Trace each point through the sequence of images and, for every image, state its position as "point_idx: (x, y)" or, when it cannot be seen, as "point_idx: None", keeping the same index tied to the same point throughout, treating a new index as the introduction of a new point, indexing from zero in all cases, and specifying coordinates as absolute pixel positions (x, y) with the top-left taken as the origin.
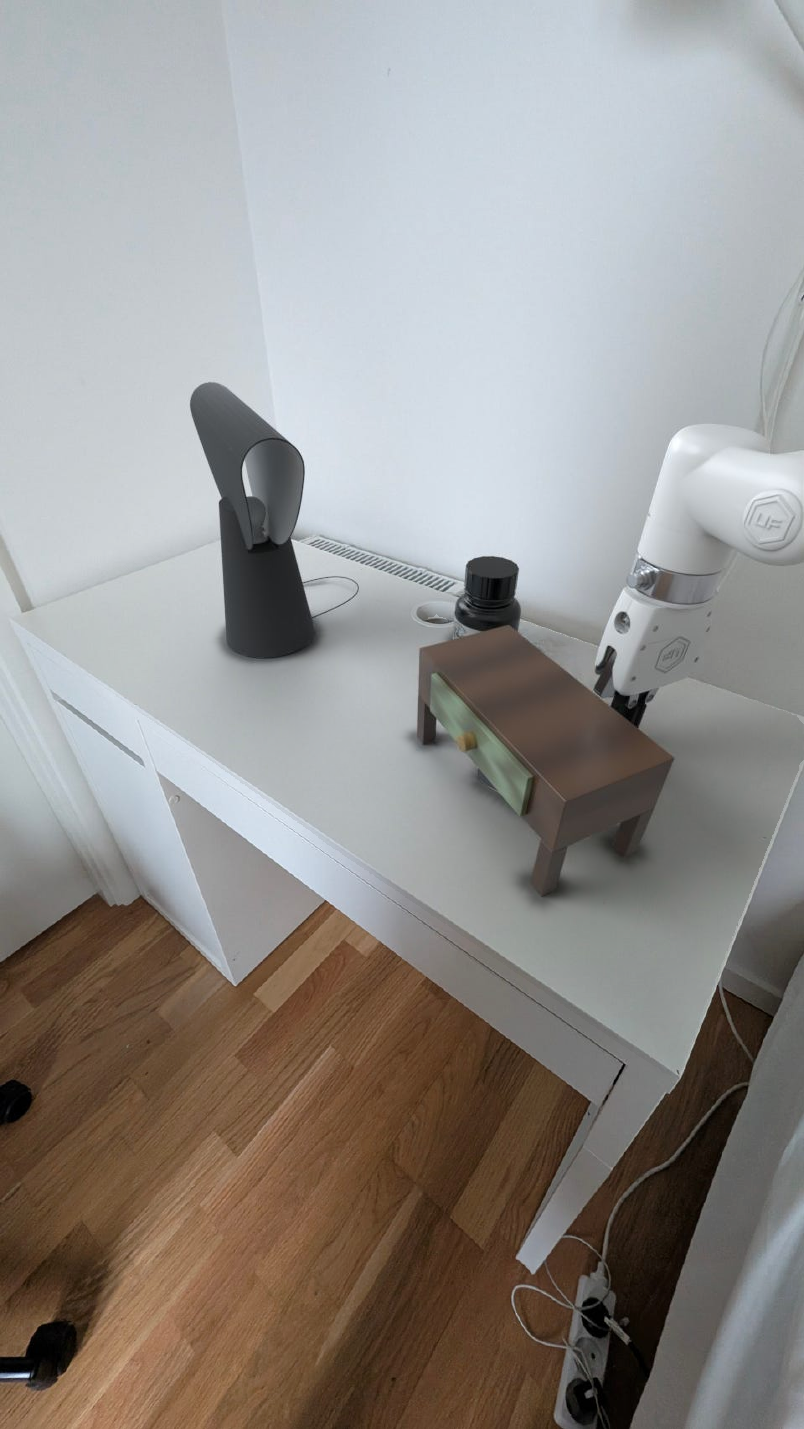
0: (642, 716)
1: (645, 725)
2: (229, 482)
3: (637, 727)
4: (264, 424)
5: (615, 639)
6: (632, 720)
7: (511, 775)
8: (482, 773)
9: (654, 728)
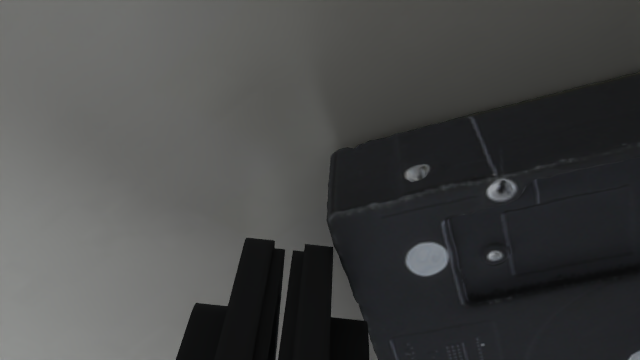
0: (225, 327)
1: (72, 233)
2: None
3: (252, 261)
4: None
5: None
6: (320, 331)
7: None
8: None
9: (42, 200)
